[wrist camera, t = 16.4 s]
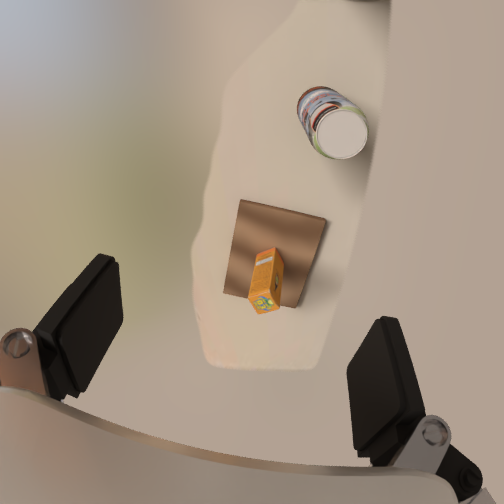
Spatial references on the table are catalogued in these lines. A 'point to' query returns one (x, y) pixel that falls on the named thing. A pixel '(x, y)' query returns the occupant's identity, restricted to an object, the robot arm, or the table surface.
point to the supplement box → (266, 281)
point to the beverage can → (332, 123)
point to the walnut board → (267, 237)
